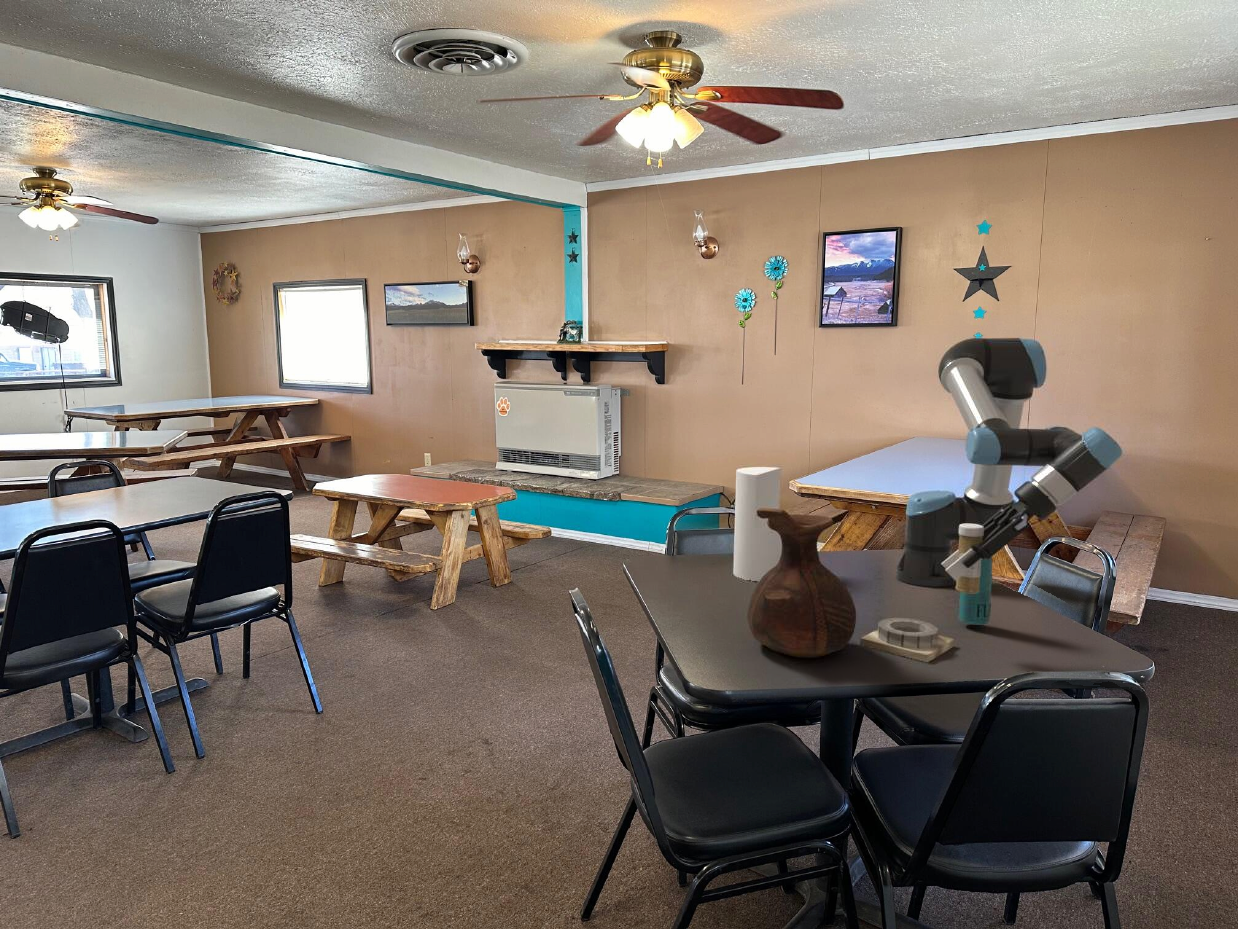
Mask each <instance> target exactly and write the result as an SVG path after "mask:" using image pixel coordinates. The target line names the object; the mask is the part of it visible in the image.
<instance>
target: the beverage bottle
mask: <svg viewBox="0 0 1238 929" xmlns="http://www.w3.org/2000/svg"><path fill="white" fill-rule="evenodd" d="M981 559H982V558H981ZM993 561H994V559H993V556H992V557H991V558H989V559H986V558H984V559H982V560H981V573H980V583H979V589H980V591H979V592H978V593H976V594H967V593H962V592H959V600H958V606H957V607H958V614H957V616H958V620H960V622H962V623H965V624H970V625H977V626H982V625H984V626H985V625H987V624H989V621H990V615H991V606H992V603H991V598H992V583H993V579H994V578H993V576H994V575H993Z"/></svg>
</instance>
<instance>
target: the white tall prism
mask: <svg viewBox="0 0 1238 929" xmlns="http://www.w3.org/2000/svg"><path fill="white" fill-rule="evenodd" d="M781 475H782V468H781V467H774V466H773V467H772V466H771V467H769V466H753V467H752V466H751V467H742V468H738V469H736V472H735V476H736V477H735V498H734V499H735V502H734V503H735V504H734V506H735V507H734V508H735V509H734V534H733V535H734V536H733V537H734V538H733V539H734V541H733V567H732V568H733V573H732V574H733V575H734V576H735V577H736V578H738V577H739V578H738V579H740V578H742V579H741V580H743V579H744V581H747V580H751V581H750V582H752V581H758V582H757V583H759V581H760V580H761V578H762V577H763V576H764V575H765V574H766V573H767V572H768V571H769V570H770V569H772V568H773V567H775V566H776V565H777V564H778V562H779V560H780V557H781V551H782V541H781V537H780V535H779V533H778V532H776V531H774V530H772V529H770V528H769V527H768V525H767V521H768V518H765V519H762V518H760V517H758V516H757V510H758V509H760V508H770V509H781V508H780V507H781V505H780V504H781V500H780V499H781Z"/></svg>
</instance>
